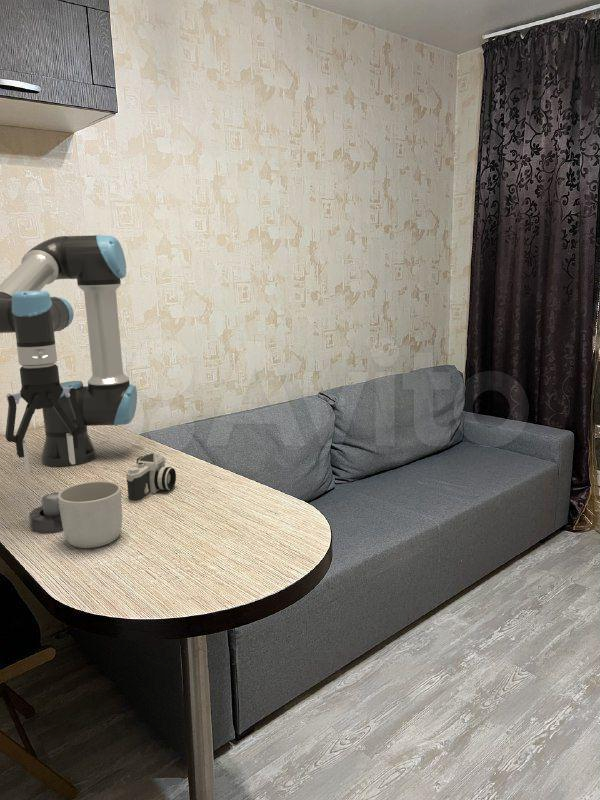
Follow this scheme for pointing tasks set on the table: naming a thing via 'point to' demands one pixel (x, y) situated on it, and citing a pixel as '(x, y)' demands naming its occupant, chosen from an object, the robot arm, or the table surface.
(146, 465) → the camera
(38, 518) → the grey ring
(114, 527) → the planter
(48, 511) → the cap
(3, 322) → the robot arm
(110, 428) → the table surface
